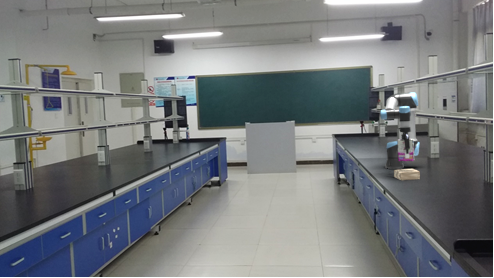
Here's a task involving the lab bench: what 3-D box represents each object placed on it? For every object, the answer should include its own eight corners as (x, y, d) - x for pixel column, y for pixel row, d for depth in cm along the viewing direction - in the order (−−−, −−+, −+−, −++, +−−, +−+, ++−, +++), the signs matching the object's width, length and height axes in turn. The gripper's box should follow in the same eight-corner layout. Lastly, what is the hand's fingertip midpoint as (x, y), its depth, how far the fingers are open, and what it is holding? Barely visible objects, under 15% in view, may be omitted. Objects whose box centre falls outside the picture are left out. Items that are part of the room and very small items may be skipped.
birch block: (394, 177, 322) (393, 169, 321) (412, 176, 322) (412, 168, 321) (401, 180, 308) (400, 172, 307) (419, 179, 308) (419, 171, 307)
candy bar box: (414, 160, 313) (413, 138, 312) (413, 161, 309) (413, 139, 308) (398, 160, 318) (398, 139, 317) (398, 161, 314) (397, 139, 313)
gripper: (396, 126, 322) (397, 156, 323) (402, 127, 303) (404, 159, 304) (407, 126, 321) (408, 156, 322) (413, 127, 302) (414, 158, 303)
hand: (406, 157), depth 313 cm, fingers closed on candy bar box, 6 cm apart
